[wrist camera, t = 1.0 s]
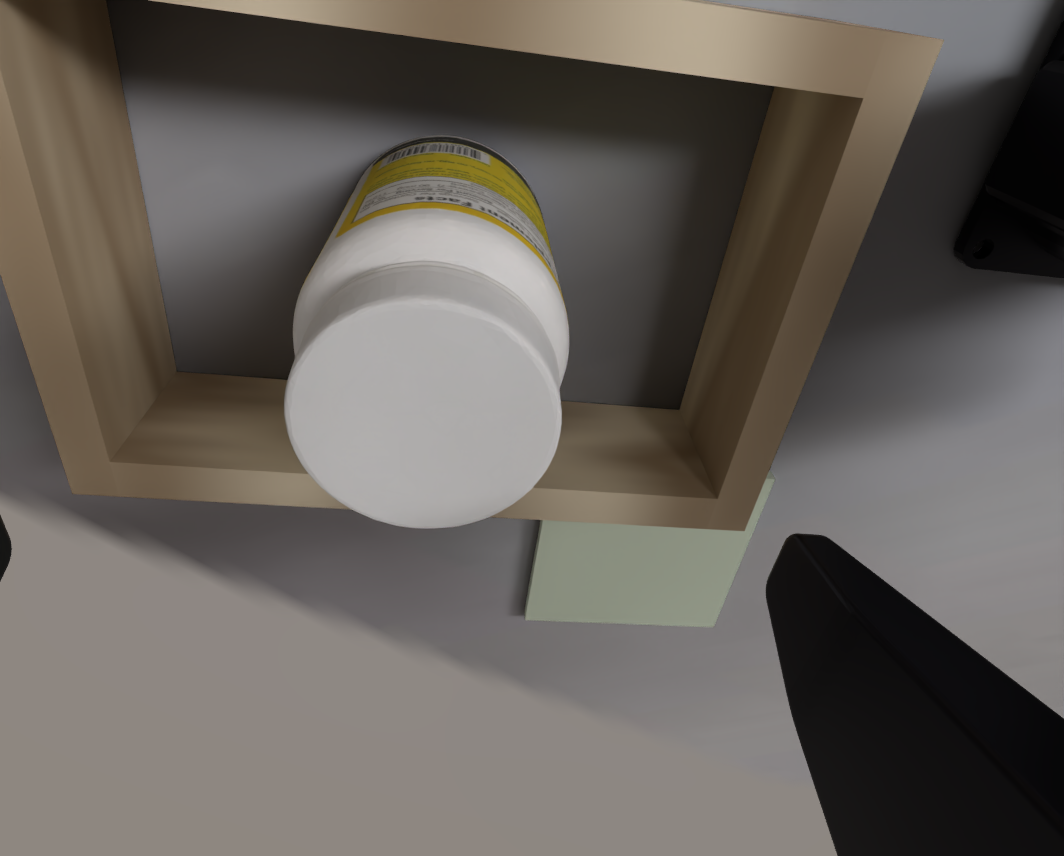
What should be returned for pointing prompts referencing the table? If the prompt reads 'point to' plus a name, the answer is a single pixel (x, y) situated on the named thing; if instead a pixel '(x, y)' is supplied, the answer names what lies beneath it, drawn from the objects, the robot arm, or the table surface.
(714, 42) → the wooden box
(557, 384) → the supplement bottle
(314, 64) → the table surface
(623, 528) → the sage mat
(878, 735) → the robot arm
